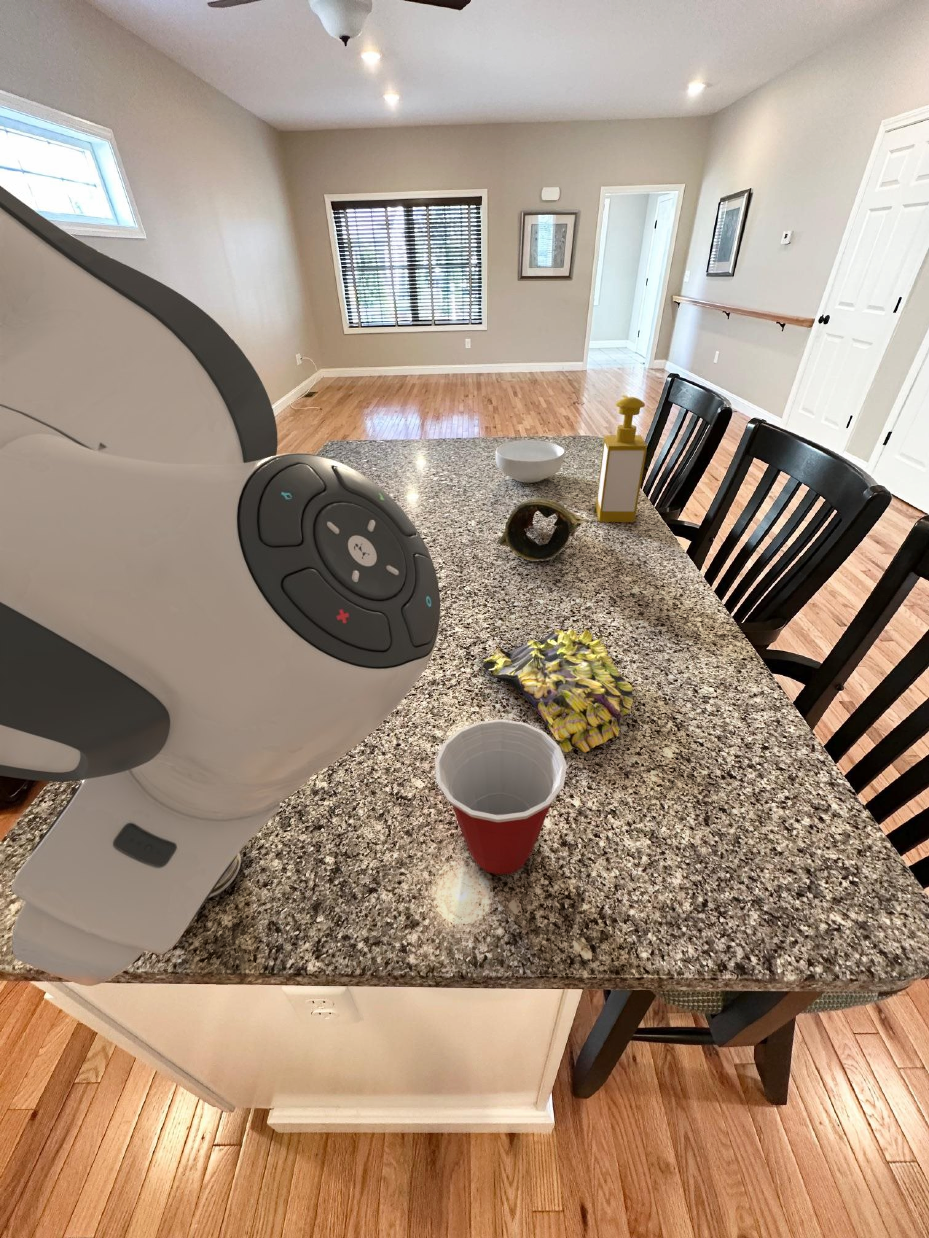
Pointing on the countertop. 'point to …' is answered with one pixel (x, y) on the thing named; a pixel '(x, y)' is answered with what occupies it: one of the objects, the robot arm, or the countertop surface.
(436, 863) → the countertop surface
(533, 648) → the banana patterned fabric
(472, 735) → the plastic cup
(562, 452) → the cereal bowl
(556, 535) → the pot
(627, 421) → the soap bottle
